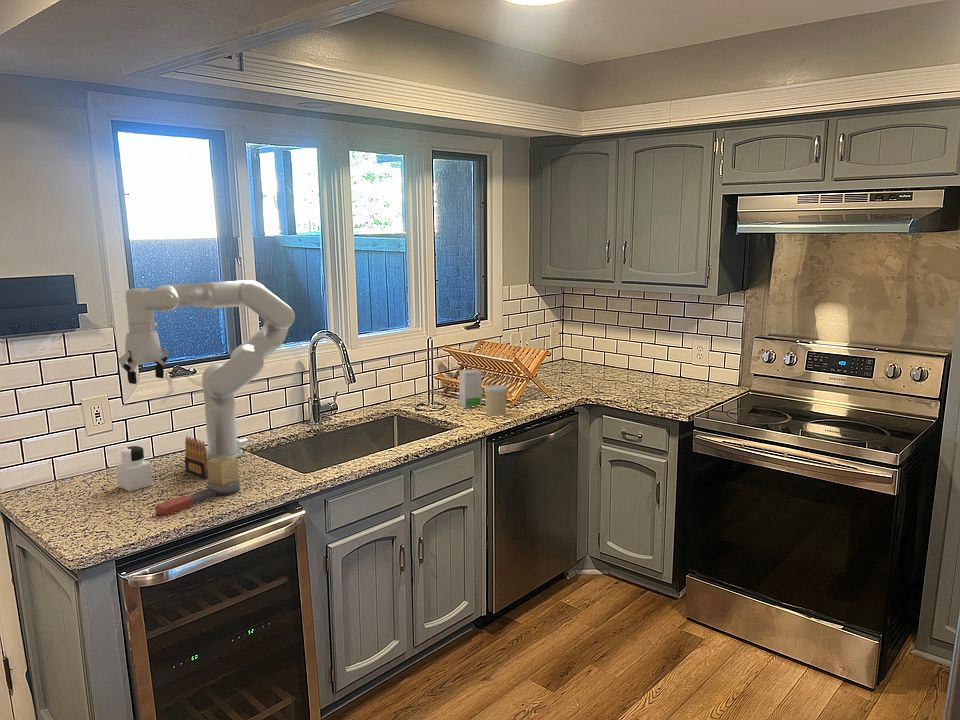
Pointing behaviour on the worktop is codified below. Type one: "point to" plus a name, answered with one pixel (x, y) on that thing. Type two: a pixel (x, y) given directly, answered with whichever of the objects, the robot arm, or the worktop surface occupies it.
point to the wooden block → (222, 470)
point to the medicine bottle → (133, 469)
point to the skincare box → (470, 388)
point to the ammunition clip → (196, 458)
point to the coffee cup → (495, 399)
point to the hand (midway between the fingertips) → (146, 380)
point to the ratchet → (195, 498)
